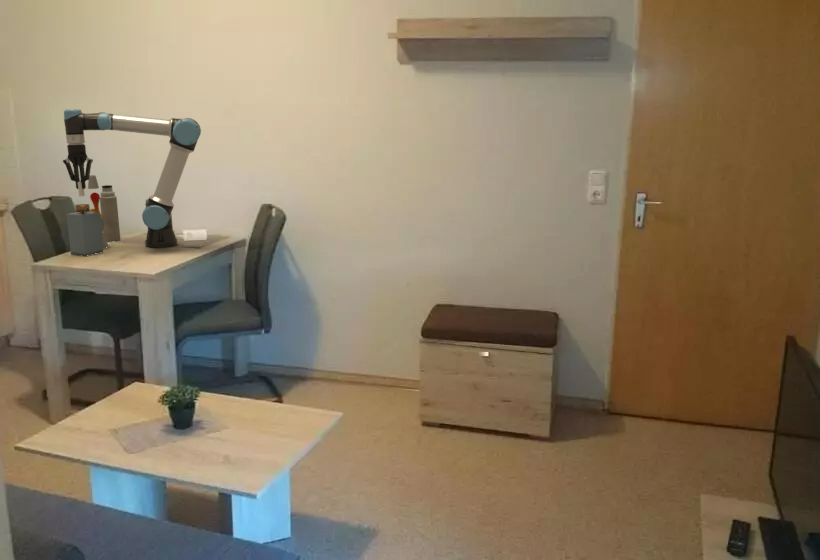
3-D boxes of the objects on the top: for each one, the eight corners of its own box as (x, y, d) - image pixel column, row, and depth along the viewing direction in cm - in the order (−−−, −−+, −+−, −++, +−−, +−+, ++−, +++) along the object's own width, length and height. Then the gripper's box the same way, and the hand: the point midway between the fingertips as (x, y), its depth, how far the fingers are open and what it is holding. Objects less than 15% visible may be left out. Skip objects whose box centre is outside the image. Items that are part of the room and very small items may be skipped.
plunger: (99, 249, 362) (94, 204, 357) (85, 252, 355) (81, 206, 350) (88, 248, 365) (83, 203, 360) (74, 251, 359) (69, 205, 354)
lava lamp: (113, 246, 378) (106, 174, 370) (102, 249, 369) (95, 176, 361) (96, 245, 380) (88, 174, 372) (85, 249, 371) (77, 176, 363)
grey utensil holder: (103, 252, 363) (99, 212, 358) (85, 256, 354) (81, 215, 350) (88, 250, 367) (84, 211, 363) (70, 254, 359) (66, 213, 354)
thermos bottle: (108, 238, 397) (103, 184, 391) (123, 239, 396) (118, 184, 390) (100, 241, 389) (95, 186, 383) (116, 242, 389) (110, 186, 382)
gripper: (58, 144, 345) (64, 197, 351) (87, 144, 345) (93, 196, 351) (64, 143, 352) (70, 195, 358) (93, 143, 353) (99, 194, 358)
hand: (81, 195), depth 354 cm, fingers closed
